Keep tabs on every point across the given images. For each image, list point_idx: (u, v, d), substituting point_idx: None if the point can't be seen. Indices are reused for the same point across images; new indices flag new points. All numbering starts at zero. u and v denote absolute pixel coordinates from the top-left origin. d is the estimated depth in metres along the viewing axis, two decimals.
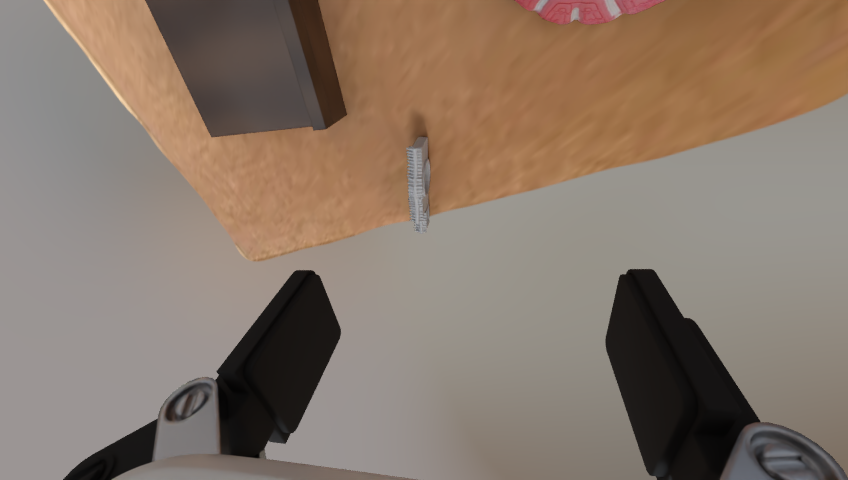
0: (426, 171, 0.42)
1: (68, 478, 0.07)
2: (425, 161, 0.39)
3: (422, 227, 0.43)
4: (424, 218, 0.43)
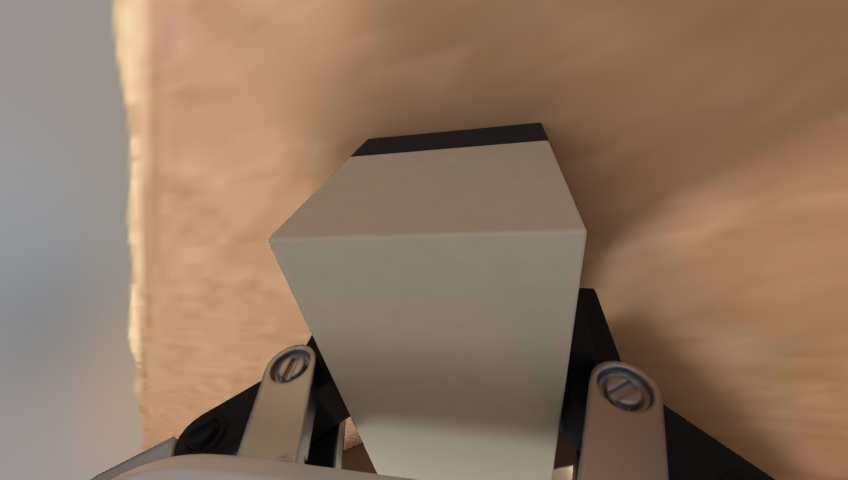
0: None
1: (186, 434, 0.07)
2: None
3: None
4: None
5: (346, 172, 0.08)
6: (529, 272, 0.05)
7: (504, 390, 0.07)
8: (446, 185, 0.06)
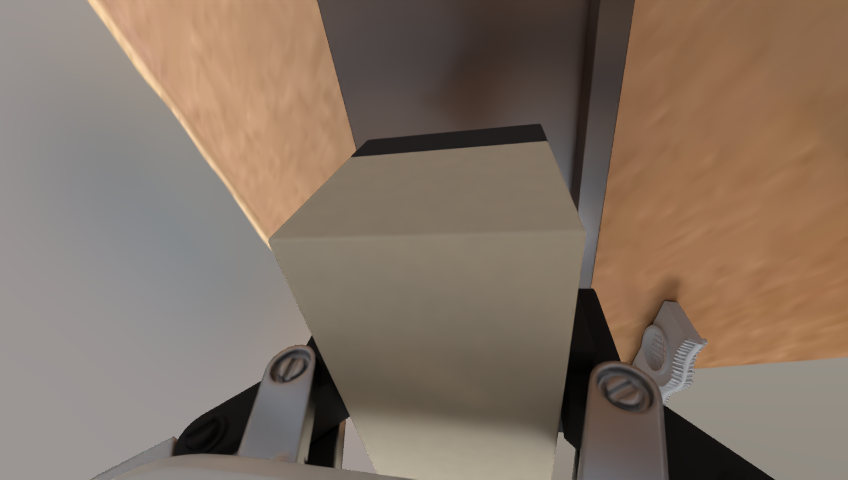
0: (659, 334, 0.33)
1: (186, 434, 0.07)
2: None
3: None
4: None
5: (346, 172, 0.08)
6: (528, 273, 0.05)
7: (504, 391, 0.07)
8: (445, 186, 0.06)
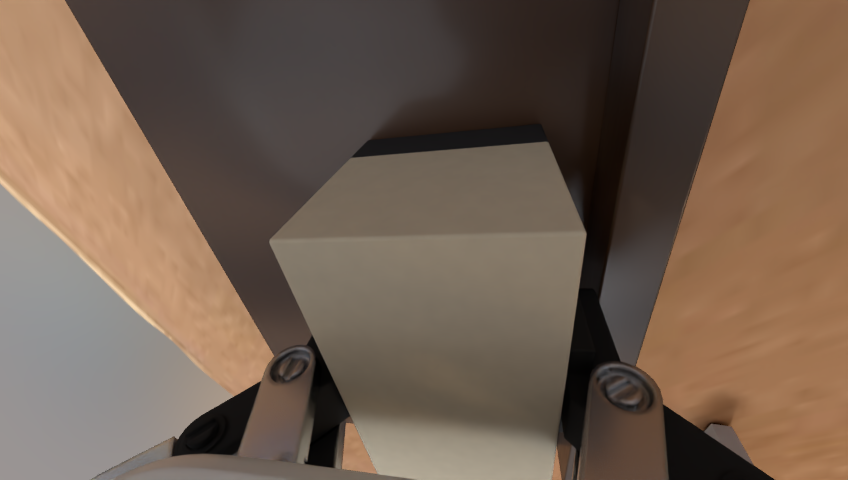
0: None
1: (186, 435, 0.07)
2: None
3: None
4: None
5: (346, 173, 0.08)
6: (528, 274, 0.05)
7: (504, 391, 0.07)
8: (445, 186, 0.06)
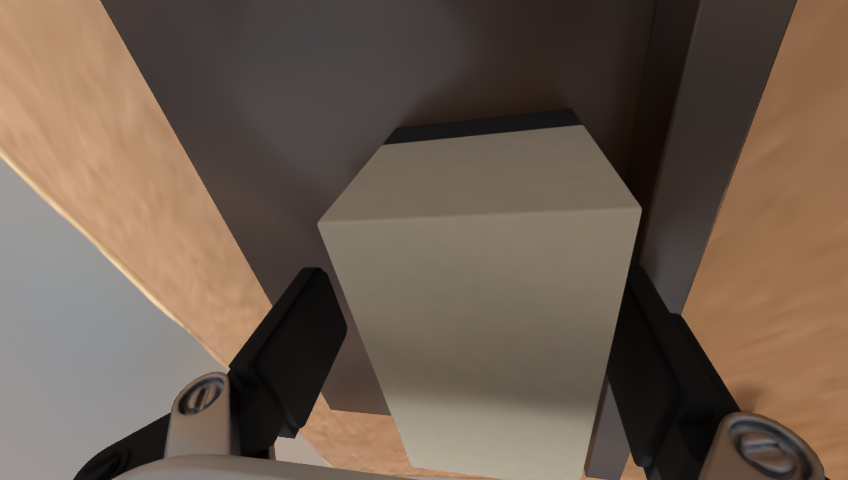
0: None
1: (83, 471, 0.07)
2: None
3: None
4: None
5: (381, 159, 0.08)
6: (579, 252, 0.05)
7: (544, 372, 0.07)
8: (486, 169, 0.06)
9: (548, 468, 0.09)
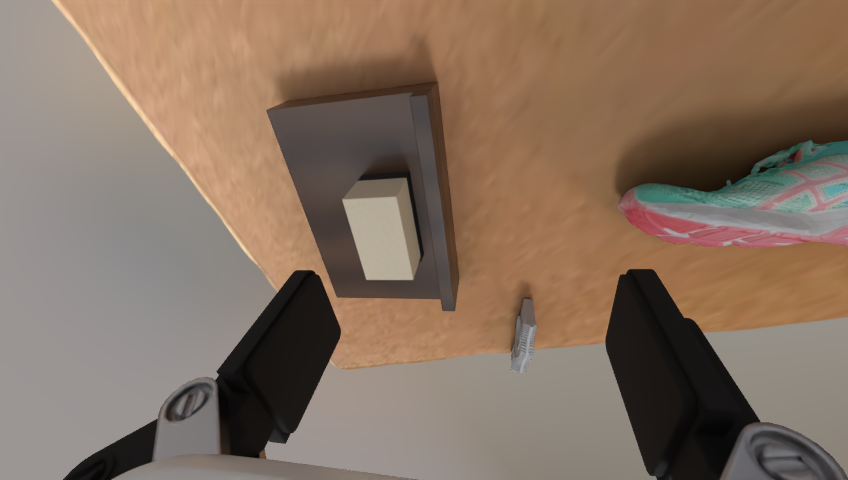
0: None
1: (68, 478, 0.07)
2: None
3: None
4: None
5: (356, 185, 0.31)
6: (389, 204, 0.29)
7: (392, 234, 0.30)
8: (378, 189, 0.30)
9: (403, 271, 0.33)
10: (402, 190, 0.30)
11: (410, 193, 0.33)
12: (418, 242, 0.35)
